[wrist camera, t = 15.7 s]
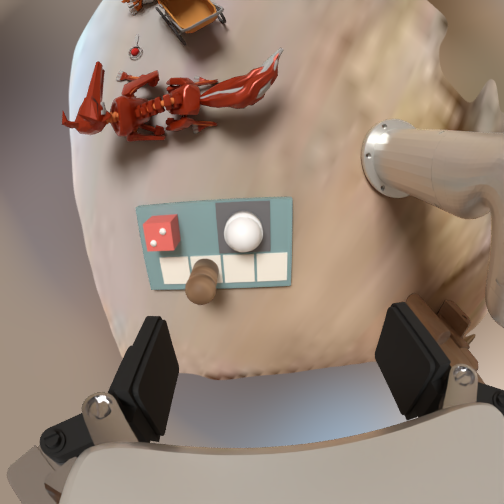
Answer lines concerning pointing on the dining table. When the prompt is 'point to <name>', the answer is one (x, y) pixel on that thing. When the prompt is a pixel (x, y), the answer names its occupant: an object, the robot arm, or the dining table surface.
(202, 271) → the brown rounded capsule
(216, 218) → the board
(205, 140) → the dining table surface
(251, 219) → the dome
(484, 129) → the dining table surface
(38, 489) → the robot arm
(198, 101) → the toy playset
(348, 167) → the dining table surface
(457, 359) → the wooden toy
